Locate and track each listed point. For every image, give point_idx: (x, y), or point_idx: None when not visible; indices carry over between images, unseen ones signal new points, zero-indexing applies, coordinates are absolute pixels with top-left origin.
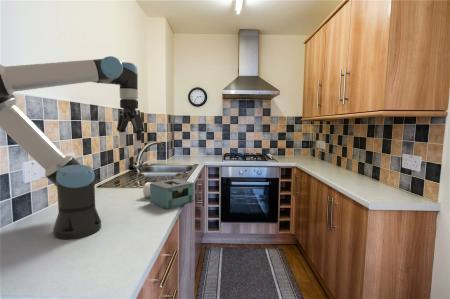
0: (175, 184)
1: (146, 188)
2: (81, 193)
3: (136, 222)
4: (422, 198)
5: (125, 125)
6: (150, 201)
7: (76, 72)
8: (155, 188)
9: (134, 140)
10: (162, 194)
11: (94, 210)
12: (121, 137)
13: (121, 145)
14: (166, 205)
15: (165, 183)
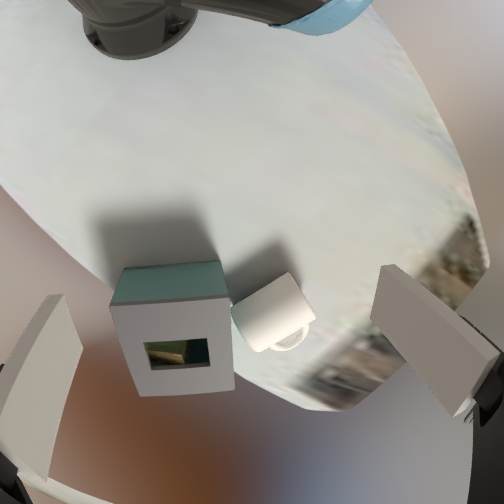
0: (175, 360)
1: (284, 290)
2: None
3: (80, 148)
4: (31, 486)
5: (481, 494)
6: (220, 263)
7: None
8: (187, 293)
9: (29, 351)
10: (141, 289)
11: (94, 26)
12: (439, 331)
13: (383, 279)
14: (124, 273)
15: (185, 337)
